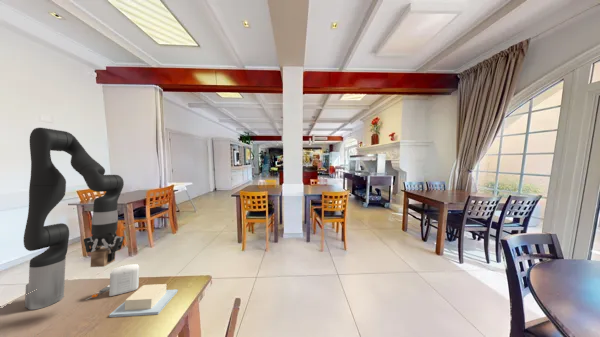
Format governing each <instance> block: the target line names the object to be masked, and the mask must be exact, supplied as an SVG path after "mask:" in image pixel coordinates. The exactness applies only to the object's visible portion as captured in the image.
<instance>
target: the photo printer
mask: <svg viewBox="0 0 600 337" xmlns="http://www.w3.org/2000/svg"><path fill="white" fill-rule="evenodd" d="M139 280H140V265H139V264H138V263H134V264H133V263H132V264H131V263H130V264H125V265H121V266H118V267H115V268H113V269H111V272H110V276H109V285H110V287H109V290H108V296H110V297H113V296H114V297H115V296H118V295H122V294H125V293H130V292H133V291H134V292H135V291H137V290H138V289H139V286H140V285H139V284H140V282H139Z"/></svg>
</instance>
